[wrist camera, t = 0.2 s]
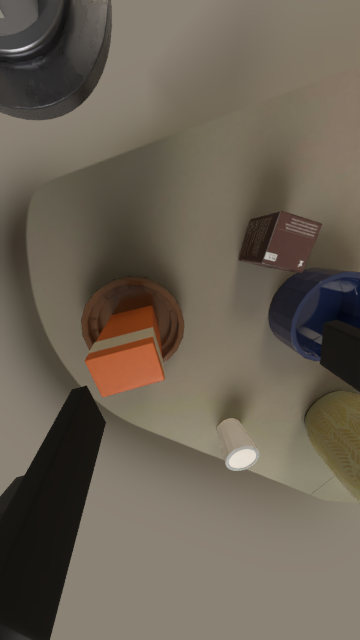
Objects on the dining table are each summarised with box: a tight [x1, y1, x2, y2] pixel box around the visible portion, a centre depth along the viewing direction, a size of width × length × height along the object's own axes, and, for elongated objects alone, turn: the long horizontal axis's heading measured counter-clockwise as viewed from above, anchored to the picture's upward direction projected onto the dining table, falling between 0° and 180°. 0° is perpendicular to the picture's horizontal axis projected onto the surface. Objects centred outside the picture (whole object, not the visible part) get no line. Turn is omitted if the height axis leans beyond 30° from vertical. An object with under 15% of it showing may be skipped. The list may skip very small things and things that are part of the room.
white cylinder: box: [217, 418, 259, 471], centre depth 40 cm, size 7×7×7 cm
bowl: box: [81, 276, 184, 363], centre depth 30 cm, size 15×15×4 cm
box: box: [239, 211, 322, 273], centre depth 27 cm, size 6×6×7 cm
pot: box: [269, 268, 360, 361], centre depth 32 cm, size 15×15×6 cm
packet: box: [85, 305, 165, 397], centre depth 25 cm, size 5×7×13 cm
